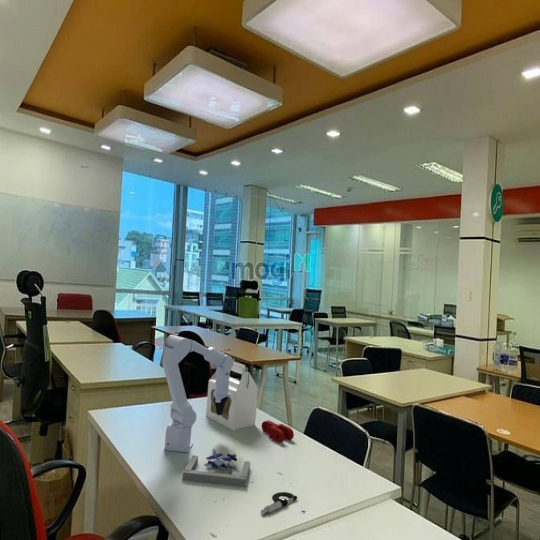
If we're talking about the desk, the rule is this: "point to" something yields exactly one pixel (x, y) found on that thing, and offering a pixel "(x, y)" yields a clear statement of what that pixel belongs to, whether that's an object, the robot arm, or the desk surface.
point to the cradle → (215, 475)
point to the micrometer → (278, 502)
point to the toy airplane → (221, 461)
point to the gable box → (235, 400)
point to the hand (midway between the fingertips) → (219, 414)
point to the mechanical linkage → (277, 431)
